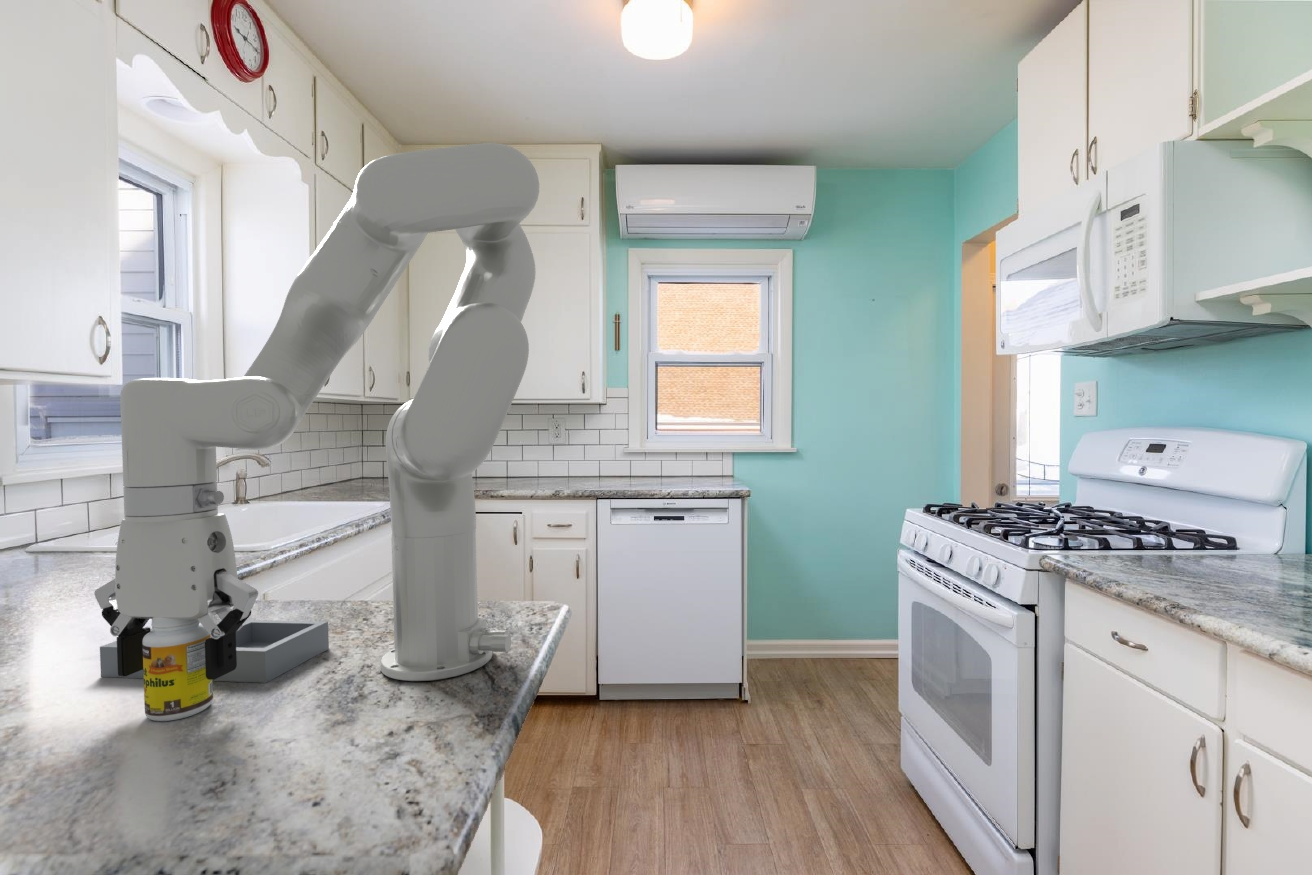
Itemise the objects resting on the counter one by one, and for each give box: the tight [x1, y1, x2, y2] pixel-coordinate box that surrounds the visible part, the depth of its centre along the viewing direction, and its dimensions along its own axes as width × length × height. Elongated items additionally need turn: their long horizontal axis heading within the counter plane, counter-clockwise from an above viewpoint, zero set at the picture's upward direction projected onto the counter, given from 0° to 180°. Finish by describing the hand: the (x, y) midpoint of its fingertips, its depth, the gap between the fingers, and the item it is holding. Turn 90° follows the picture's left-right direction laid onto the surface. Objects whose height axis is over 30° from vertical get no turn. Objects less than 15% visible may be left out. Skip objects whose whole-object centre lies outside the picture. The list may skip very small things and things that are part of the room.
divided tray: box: [99, 618, 330, 684], centre depth 79 cm, size 21×11×4 cm, turn 82°
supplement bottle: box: [142, 617, 214, 722], centre depth 66 cm, size 6×6×10 cm
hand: (178, 672), depth 66 cm, fingers open, 9 cm apart
